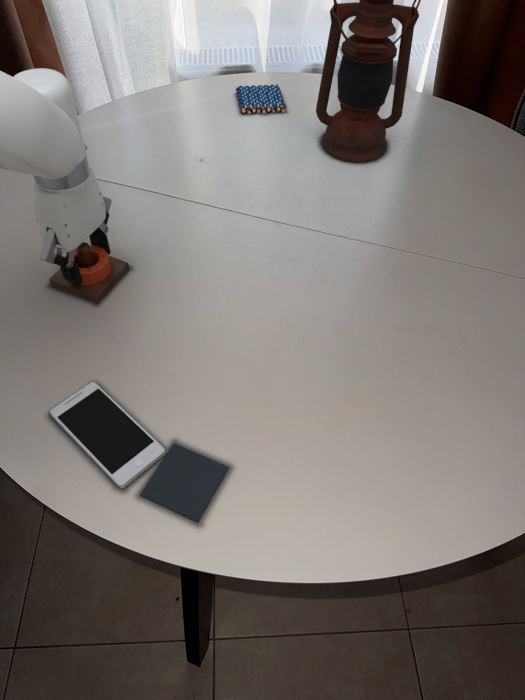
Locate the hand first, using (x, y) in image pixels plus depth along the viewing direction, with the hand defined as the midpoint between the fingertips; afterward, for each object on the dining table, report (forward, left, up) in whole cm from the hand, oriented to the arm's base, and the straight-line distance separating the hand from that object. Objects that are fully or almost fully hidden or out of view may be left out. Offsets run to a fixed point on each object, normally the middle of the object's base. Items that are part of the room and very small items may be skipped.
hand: (87, 265), depth 92 cm
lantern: (+58, -25, -3) cm, 63 cm away
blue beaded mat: (+65, 0, -3) cm, 65 cm away
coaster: (-25, -32, -3) cm, 41 cm away
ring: (0, 0, -1) cm, 1 cm away
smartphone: (-24, -20, -3) cm, 31 cm away
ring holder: (0, 0, -3) cm, 3 cm away
